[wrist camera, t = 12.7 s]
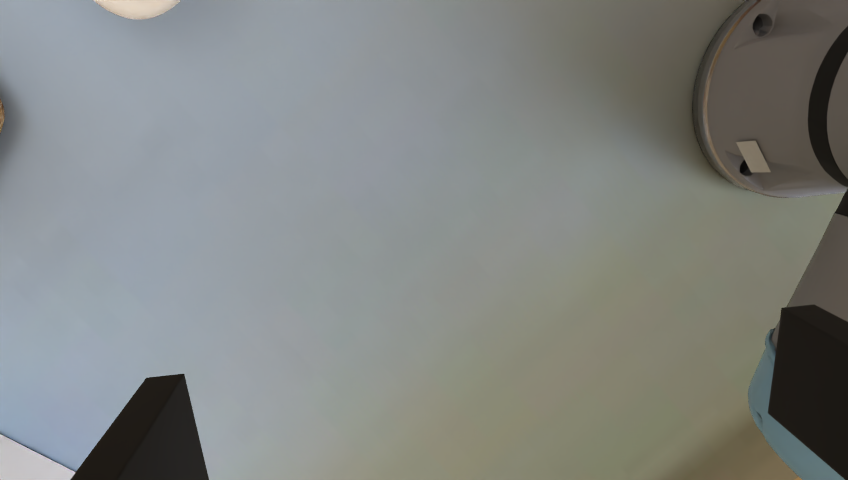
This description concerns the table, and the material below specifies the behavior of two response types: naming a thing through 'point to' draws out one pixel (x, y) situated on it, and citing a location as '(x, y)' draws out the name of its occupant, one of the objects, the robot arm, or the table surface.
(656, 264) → the table surface
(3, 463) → the gable box
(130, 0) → the mug
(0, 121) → the stone cup
